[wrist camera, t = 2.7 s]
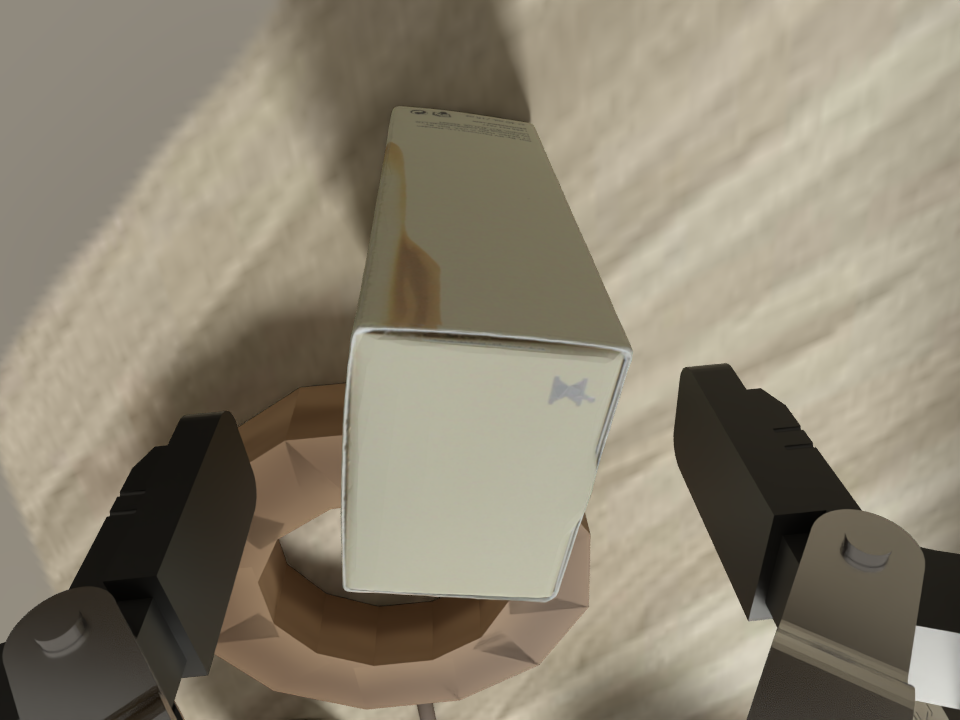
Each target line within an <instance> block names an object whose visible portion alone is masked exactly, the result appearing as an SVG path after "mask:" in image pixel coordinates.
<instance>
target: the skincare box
mask: <svg viewBox="0 0 960 720" xmlns="http://www.w3.org/2000/svg"><path fill="white" fill-rule="evenodd" d="M632 354H633V351H632V348H631V345H630V343H629V341H628V339H627V336H626V334H625V332H624V329H623V327H622V325H621V323H620V321H619V319H618V316H617V314H616V312H615V310H614V307H613V305H612V303H611V300H610V298H609V295H608V293H607V291H606V289H605V286H604V284H603V282H602V280H601V277H600V275H599V272H598V270H597V268H596V266H595V264H594V261H593V258H592V256H591V254H590V252H589V250H588V247H587V245H586V243H585V241H584V239H583V236H582V234H581V232H580V230H579V227H578V225H577V223H576V221H575V219H574V216H573V214H572V212H571V209H570V207H569V205H568V203H567V201H566V198H565V196H564V193H563V191H562V189H561V186H560V184H559V182H558V179H557V177H556V175H555V173H554V171H553V168H552V166H551V164H550V161H549V159H548V157H547V154H546V152H545V150H544V148H543V145H542V143H541V140H540V138H539V136H538V134H537V131H536V129H535V127H534V125H532V124H531V123H526V122H520V121H514V120H508V119H502V118H496V117H489V116H482V115H476V114H469V113H462V112H455V111H447V110H438V109H427V108H416V107H405V106H397V107H395V108H394V109H393V111H392V114H391V119H390V124H389V130H388V137H387V143H386V150H385V156H384V161H383V167H382V172H381V178H380V184H379V190H378V196H377V201H376V207H375V213H374V219H373V225H372V231H371V236H370V242H369V247H368V253H367V258H366V264H365V269H364V274H363V280H362V285H361V291H360V296H359V301H358V306H357V312H356V316H355V320H354V325H353V329H352V333H351V338H350V348H349V358H348V367H347V377H346V387H345V399H344V411H343V433H342V462H341V544H342V553H341V555H342V580H343V588H344V590H345V591H348V592H358V593H388V594H401V595H419V596H424V595H426V596H434V597H456V598H473V599H490V600H513V601H530V602H548V601H550V600H552V599H553V598H555V597H556V596H557V594H558V592H559V588H560V585H561V582H562V579H563V576H564V573H565V570H566V567H567V564H568V561H569V558H570V555H571V551H572V548H573V545H574V542H575V539H576V536H577V533H578V529H579V526H580V524H581V521H582V518H583V515H584V512H585V510H586V507H587V504H588V501H589V498H590V496H591V493H592V489H593V485H594V481H595V477H596V473H597V469H598V466H599V462H600V458H601V455H602V452H603V449H604V446H605V443H606V440H607V437H608V434H609V431H610V427H611V424H612V420H613V417H614V414H615V410H616V407H617V404H618V401H619V398H620V395H621V391H622V388H623V385H624V381H625V378H626V374H627V371H628V369H629V366H630V364H631V361H632Z"/></svg>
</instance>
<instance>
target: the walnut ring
mask: <svg viewBox="0 0 960 720" xmlns="http://www.w3.org/2000/svg"><path fill="white" fill-rule="evenodd" d="M345 387H346V383H343V384H332V385H321V386H311V387H300V388H299V389H297V390H295V391H294V392H292V393H291V394H289V395H288V396H286V397H285V398H283V399H281V400H280V401H278V402H277V403H275V404H274V405H272V406H271V407H269V408H268V409H266V410H264V411H263V412H261V413H260V414H258V415H257V416H255V417H254V418H252V419H250V420H249V421H247V422H246V423H244V424H243V425H241V426H240V427H238V430H239V433H240V435H241V438H242V441H243V444H244V447H245V450H246V453H247V455H248V458H249V461H250V464H251V467H252V470H253V473H254V476H255V481H256V489H257V499H256V508H255V512H254V515H253V519H252V522H251V526H250V529H249V533H248V536H247V540H246V543H245V547H244V551H243V554H242V558H241V561H240V565H239V568H238V572H237V575H236V579H235V582H234V586H233V589H232V593H231V596H230V600H229V604H228V607H227V611H226V614H225V618H224V621H223V625H222V628H221V632H220V635H219V639H218V642H217V646H216V649H215V653H214V654H215V655H217V656H218V657H220V658H222V659H223V660H225V661H227V662H228V663H230V664H231V665H233V666H235V667H236V668H238V669H239V670H241V671H243V672H244V673H246V674H247V675H249V676H251V677H252V678H254V679H255V680H257V681H259V682H260V683H262V684H263V685H265V686H267V687H268V688H270V689H272V690H273V691H277V692H282V693H287V694H292V695H297V696H302V697H307V698H312V699H317V700H322V701H327V702H332V703H337V704H342V705H347V706H351V707H356V708H361V709H376V708H386V707H396V706H406V705H416V704H427V703H437V702H447V701H457V700H461V699H464V698H466V697H468V696H470V695H473V694H475V693H477V692H479V691H482V690H484V689H486V688H488V687H491V686H493V685H495V684H497V683H500V682H502V681H504V680H506V679H509V678H511V677H513V676H515V675H518V674H520V673H522V672H524V671H527V670H529V669H531V668H533V667H536V666H538V665H540V663H541V662H542V661H543V660H544V659H545V658H546V656H547V655H548V654H549V653H550V652H551V651H552V649H553V648H554V647H555V646H556V645H557V644H558V642H559V641H560V640H561V639H562V638H563V636H564V635H565V634H566V633H567V632H568V631H569V629H570V628H571V627H572V626H573V625H574V624H575V622H576V621H577V620H578V619H579V618H580V617H581V615H582V614H583V613H584V612H585V611H586V610H587V608H588V607H589V576H590V531H589V527H588V523H587V519H586V515H585V512H584V515H583V518H582V521H581V524H580V526H579V529H578V533H577V536H576V539H575V542H574V545H573V548H572V551H571V555H570V558H569V561H568V564H567V567H566V570H565V573H564V576H563V579H562V582H561V585H560V588H559V592H558V594H557V596H556V597H555V598H553V599H552V600H550V601H548V602H530V601H513V600H490V599H473V598H456V597H441V598H439V599H437V600H435V601H433V602H422V603H412V604H402V605H391V606H381V607H377V606H373V605H369V604H365V603H361V602H357V601H353V600H349V599H345V598H341V597H337V596H333V595H329V594H326V593H324V592H323V591H322V590H320V589H319V588H318V587H316V586H315V585H314V584H312V583H311V582H310V581H309V580H307V579H306V578H305V577H303V576H302V575H301V574H299V573H298V572H297V571H295V570H294V569H293V568H291V567H290V566H289V565H287V562H286V559H285V557H284V554H283V551H282V548H281V545H280V542H279V538H281V537H283V536H284V535H286V534H288V533H290V532H291V531H293V530H295V529H297V528H298V527H300V526H302V525H304V524H305V523H307V522H309V521H311V520H312V519H314V518H316V517H318V516H319V515H321V514H323V513H325V512H326V511H328V510H330V509H335V508H341V462H342V433H343V411H344V399H345Z"/></svg>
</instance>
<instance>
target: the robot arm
mask: <svg viewBox="0 0 960 720" xmlns="http://www.w3.org/2000/svg"><path fill="white" fill-rule="evenodd" d="M674 450H675V456H676V460H677V464H678V467H679V469H680V471H681V474H682V476H683V478H684V480H685V482H686V485H687V487H688V489H689V491H690V493H691V496H692V498H693V500H694V502H695V505H696V507H697V509H698V511H699V513H700V516H701V518H702V520H703V522H704V524H705V527H706V529H707V531H708V533H709V535H710V538H711V540H712V542H713V544H714V546H715V549H716V551H717V553H718V555H719V557H720V560H721V562H722V564H723V566H724V569H725V571H726V573H727V575H728V577H729V580H730V582H731V584H732V586H733V588H734V591H735V593H736V595H737V597H738V599H739V602H740V604H741V606H742V608H743V610H744V613H745V615H746V617H747V619H748V621H756V620H765V619H773V620H774V622H775V624H776V626H777V630H776V633H775V636H774V639H773V642H772V645H771V648H770V651H769V654H768V657H767V660H766V663H765V666H764V669H763V672H762V675H761V678H760V681H759V684H758V687H757V690H756V693H755V696H754V699H753V702H752V705H751V708H750V711H749V714H748V717H747V720H960V554H955V553H949V552H942V551H936V550H931V549H926V548H922V547H920V546H919V545H918V544H917V542H916V541H915V540H914V539H913V538H912V536H911V535H910V534H909V533H907V532H906V531H905V530H904V529H902V528H901V527H900V526H898V525H897V524H895V523H893V522H892V521H890V520H888V519H886V518H884V517H881V516H879V515H876V514H873V513H869V512H866V511H862V510H861V509H860V507H859V506H858V505H857V503H856V502H855V500H854V499H853V498H852V496H851V495H850V493H849V492H848V491H847V489H846V488H845V487H844V485H843V484H842V482H841V481H840V480H839V478H838V477H837V476H836V474H835V473H834V471H833V470H832V469H831V467H830V466H829V465H828V463H827V462H826V460H825V459H824V458H823V456H822V455H821V453H820V452H819V451H818V449H817V448H816V447H815V448H814V447H813V442H812V441H811V440H810V438H809V437H808V436H807V434H806V433H805V431H804V430H801V428H800V425H799V423H798V422H797V420H796V419H795V418H794V416H793V415H792V413H791V412H790V411H789V409H788V408H787V407H786V405H784V404H783V403H782V402H780V401H779V400H777V399H776V398H774V397H773V396H771V395H770V394H768V393H767V392H765V391H764V390H762V389H761V388H759V389H749V390H746V388H745V387H744V385H743V384H742V382H741V381H740V379H739V378H738V376H737V375H736V373H735V372H734V370H733V369H732V367H731V366H730V365H729V364H727V363H724V364H714V365H703V366H693V367H685V368H683V370H682V372H681V375H680V382H679V391H678V400H677V409H676V417H675V426H674ZM256 499H257V489H256V481H255V476H254V473H253V470H252V467H251V464H250V461H249V458H248V455H247V453H246V450H245V447H244V444H243V441H242V438H241V435H240V433H239V430H238V427H237V424H236V421H235V419H234V417H233V415H232V414H231V413H230V412H229V411H221V412H211V413H201V414H191V415H184V416H183V417H182V418H181V419H180V421H179V423H178V425H177V427H176V429H175V431H174V433H173V435H172V437H171V439H170V441H169V444H168V446H158V447H154V448H153V449H152V450H151V451H150V452H149V453H148V454H147V455H146V456H145V457H144V458H143V459H142V460H141V461H140V462H138V463H137V464H136V465H135V466H134V467H133V468H132V470H131V472H130V474H129V476H128V477H127V479H126V481H125V483H124V485H123V487H122V489H121V491H120V497H117V498H116V500H115V502H114V504H113V506H112V508H111V510H110V516H109V517H107V518H106V519H105V521H104V523H103V525H102V527H101V529H100V531H99V533H98V535H97V537H96V539H95V540H94V542H93V544H92V546H91V548H90V550H89V552H88V554H87V556H86V558H85V560H84V562H83V563H82V565H81V567H80V569H79V571H78V573H77V575H76V577H75V579H74V581H73V583H72V584H71V586H70V588H69V590H66V591H63V592H60V593H58V594H56V595H54V596H52V597H50V598H48V599H46V600H45V601H43V602H41V603H40V604H38V605H37V606H36V607H34V608H33V609H32V610H30V611H29V612H28V613H27V614H26V615H25V616H24V617H23V618H22V619H21V620H20V621H19V622H18V623H17V624H16V626H15V627H14V628H13V630H12V631H11V633H10V634H9V636H8V638H7V640H6V642H4V643H1V644H0V720H185V719H184V717H183V715H182V713H181V711H180V709H179V707H178V706H177V704H176V702H175V701H174V700H175V697H176V694H177V690H178V687H179V684H180V681H181V678H187V677H196V676H206V675H208V674H209V671H210V667H211V664H212V660H213V657H214V653H215V649H216V646H217V642H218V639H219V635H220V632H221V628H222V625H223V621H224V618H225V614H226V611H227V607H228V604H229V600H230V596H231V593H232V589H233V586H234V582H235V579H236V575H237V572H238V568H239V565H240V561H241V558H242V554H243V551H244V547H245V543H246V540H247V536H248V533H249V529H250V526H251V522H252V519H253V515H254V512H255V508H256Z"/></svg>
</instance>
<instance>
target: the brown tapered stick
mask: <svg viewBox="0 0 960 720" xmlns="http://www.w3.org/2000/svg"><path fill="white" fill-rule="evenodd" d="M417 706H418V711H419V715H420V719H421V720H436V717H435V712H434V707H433V703H427V704H417Z"/></svg>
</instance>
